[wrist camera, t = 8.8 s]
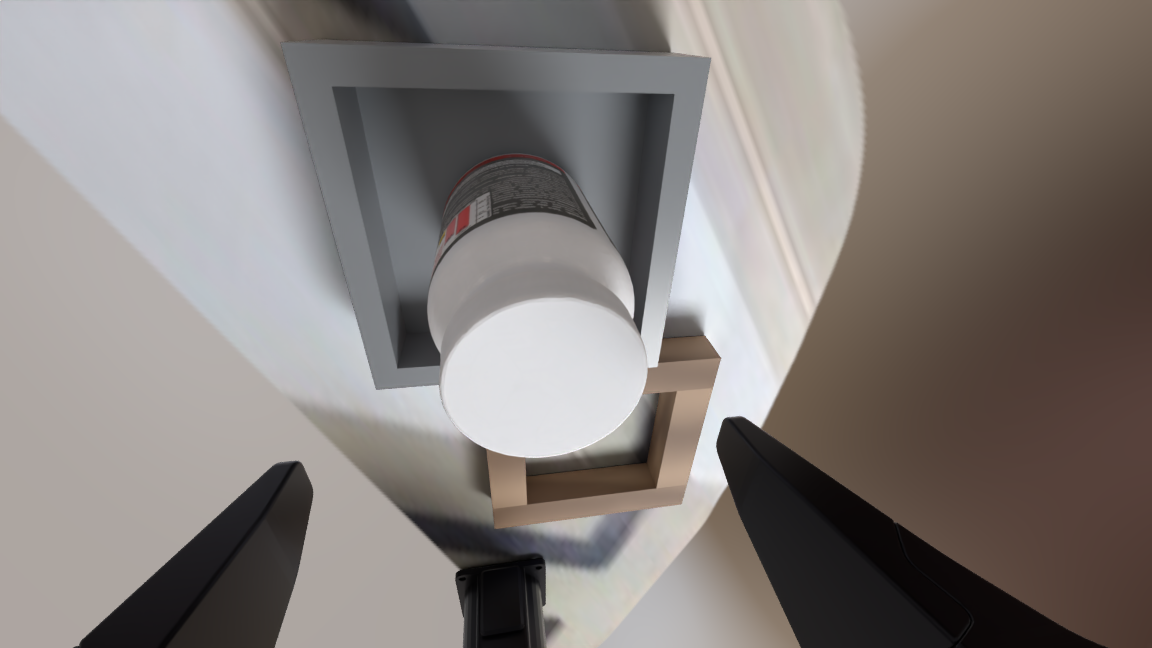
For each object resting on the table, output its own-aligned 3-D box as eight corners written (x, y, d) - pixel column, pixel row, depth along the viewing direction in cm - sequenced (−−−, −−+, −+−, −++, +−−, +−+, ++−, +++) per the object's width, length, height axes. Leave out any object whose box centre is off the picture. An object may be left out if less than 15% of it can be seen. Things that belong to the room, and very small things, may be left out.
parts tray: (635, 324, 23) (657, 367, 20) (390, 340, 21) (375, 389, 18) (671, 52, 16) (711, 57, 14) (320, 39, 15) (280, 41, 12)
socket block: (670, 478, 31) (681, 504, 29) (494, 500, 29) (494, 529, 27) (704, 335, 24) (720, 358, 23) (478, 351, 22) (478, 377, 21)
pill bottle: (416, 237, 18) (356, 417, 9) (500, 115, 16) (517, 208, 8) (532, 308, 20) (563, 497, 12) (616, 211, 18) (721, 356, 10)
